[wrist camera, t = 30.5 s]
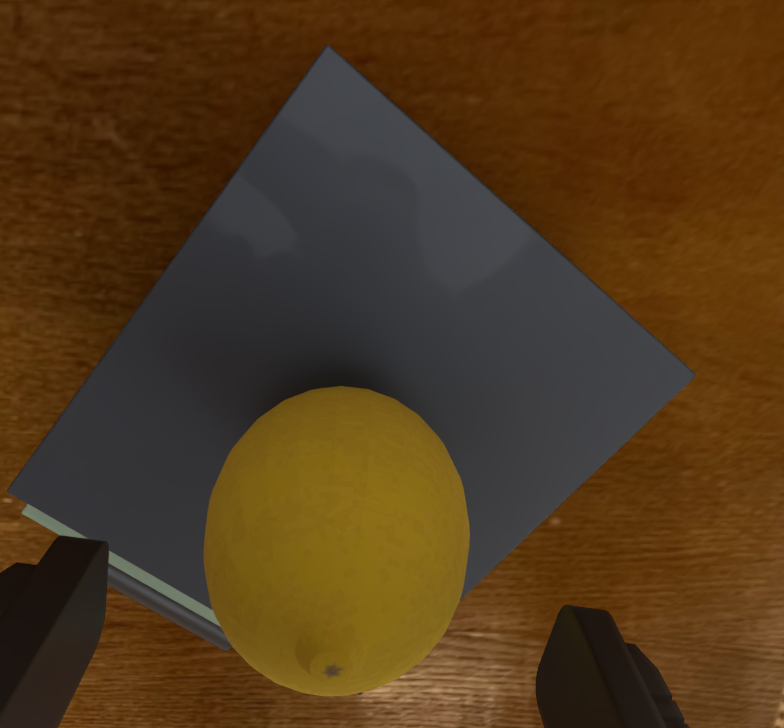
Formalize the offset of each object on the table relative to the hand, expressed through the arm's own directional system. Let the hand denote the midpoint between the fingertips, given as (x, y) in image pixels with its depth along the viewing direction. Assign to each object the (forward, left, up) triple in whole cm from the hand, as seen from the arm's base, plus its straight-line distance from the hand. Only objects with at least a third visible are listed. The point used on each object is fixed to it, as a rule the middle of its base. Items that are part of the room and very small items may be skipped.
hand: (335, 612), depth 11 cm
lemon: (0, 0, -7) cm, 7 cm away
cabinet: (0, 0, -16) cm, 16 cm away
